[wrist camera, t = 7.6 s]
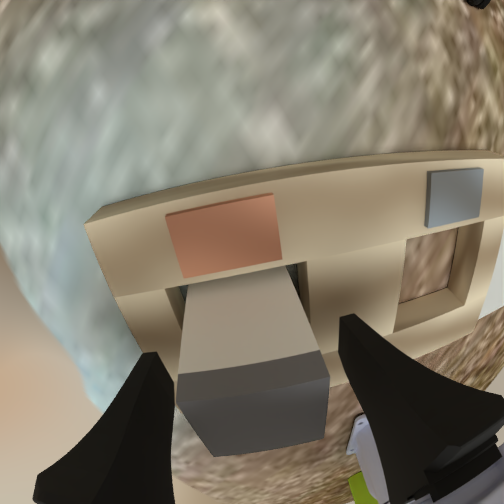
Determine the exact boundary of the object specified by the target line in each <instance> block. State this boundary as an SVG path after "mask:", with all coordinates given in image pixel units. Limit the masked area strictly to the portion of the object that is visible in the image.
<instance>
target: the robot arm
mask: <svg viewBox="0 0 504 504" xmlns="http://www.w3.org/2000/svg"><path fill="white" fill-rule="evenodd" d="M338 354H339V357H340V360H341V363H342V366H343V368H344V371H345V374H346V376H347V378H348V380H349V382H350V384H351V386H352V388H353V390H354V392H355V394H356V397H357V399H358V401H359V403H360V405H361V407H362V409H363V411H364V413H365V414H363V415H360V416H358V417H357V418H356V419H355V422H354V426H353V429H352V433H351V437H350V440H349V443H348V447H347V450H346V454H347V455H350V454H353V453H356V456H357V459H358V462H359V465H360V468H361V470H362V473H363V476H364V479H365V482H366V485H367V488H368V490H369V492H370V494H371V495H372V496H373V497H374V498H375V499H377V500H378V503H379V504H504V443H503V444H502V445H501V446H499V447H497V446H496V444H495V443H496V442H497V441H498V438H497V436H496V435H495V434H496V433H497V432H498V431H499V429H500V428H501V427H502V426H503V425H504V398H503V397H502V396H501V395H498V394H494V393H489V392H485V391H481V390H478V389H475V388H472V387H469V386H466V385H463V384H461V383H458V382H456V381H453V380H451V379H449V378H447V377H444V376H442V375H440V374H438V373H436V372H434V371H432V370H430V369H429V368H427V367H425V366H423V365H422V364H420V363H418V362H417V361H415V360H414V359H412V358H411V357H409V356H408V355H406V354H405V353H403V352H402V351H400V350H399V349H398V348H396V347H395V346H394V345H392V344H391V343H390V342H389V341H387V340H386V339H385V338H383V337H382V336H381V335H380V334H378V333H377V332H376V331H375V330H374V329H372V328H371V327H370V326H369V325H368V324H366V323H365V322H364V321H363V320H362V319H361V318H359V317H358V316H357V315H356V314H354V313H352V314H349V315H345V316H341V317H339V340H338ZM174 408H175V392H174V381H173V380H172V378H171V376H170V374H169V373H168V371H167V369H166V367H165V366H164V364H163V362H162V360H161V358H160V357H159V355H158V353H157V351H156V352H147V353H143V354H142V355H141V357H140V358H139V360H138V362H137V363H136V365H135V366H134V368H133V370H132V371H131V373H130V375H129V376H128V378H127V379H126V381H125V383H124V384H123V386H122V387H121V389H120V391H119V392H118V394H117V395H116V397H115V398H114V400H113V401H112V403H111V404H110V406H109V407H108V408H107V410H106V411H105V413H104V414H103V415H102V417H101V418H100V419H99V420H98V422H97V423H96V424H95V425H94V426H93V428H92V429H91V430H90V431H89V432H88V433H87V434H86V436H84V437H83V438H82V440H81V441H80V442H79V443H78V444H77V445H76V446H75V447H74V448H72V449H71V450H70V451H69V452H68V453H67V454H66V455H65V456H63V457H62V458H61V459H60V460H58V461H57V462H56V463H54V464H53V465H52V466H50V467H49V468H47V469H46V470H44V471H43V472H41V473H40V474H38V475H37V480H36V484H35V489H34V494H33V501H34V502H35V503H37V504H175V500H174V493H173V484H172V472H171V442H172V431H173V420H174Z"/></svg>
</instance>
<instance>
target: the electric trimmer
mask: <svg viewBox="0 0 504 504" xmlns="http://www.w3.org/2000/svg"><path fill="white" fill-rule="evenodd" d="M467 2H468V3H469V4H470V5H471V6H475V5H476V6H477V7H478V8H480V9H484V8H485V7H486V6H487V5H488V4H489V2H490V0H467Z"/></svg>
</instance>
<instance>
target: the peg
mask: <svg viewBox="0 0 504 504" xmlns="http://www.w3.org/2000/svg"><path fill="white" fill-rule="evenodd" d="M329 387H330V374H329V372H328V369H327V367H326V364H325V362H324V359H323V357H322V354H321V351H320V349H319V346H318V344H317V341H316V339H315V336H314V334H313V331H312V329H311V326H310V324H309V322H308V319H307V317H306V314H305V312H304V309H303V307H302V304H301V302H300V300H299V297H298V295H297V292H296V290H295V287H294V285H293V283H292V280H291V278H290V275H289V273H288V271H287V268H286V266H280V267H275V268H270V269H265V270H260V271H255V272H250V273H245V274H240V275H235V276H229V277H224V278H219V279H214V280H209V281H203V282H198V283H193V284H188V290H187V298H186V305H185V313H184V321H183V330H182V339H181V348H180V358H179V369H178V380H177V392H176V404H177V405H178V407H179V408H180V410H181V411H182V413H183V414H184V416H185V417H186V419H187V420H188V422H189V423H190V425H191V426H192V428H193V429H194V431H195V432H196V433H197V435H198V436H199V438H200V439H201V440H202V442H203V443H204V445H205V446H206V447H207V449H208V450H209V451H210V453H211V454H212V455H213V457H219V456H229V455H238V454H246V453H254V452H260V451H267V450H273V449H278V448H283V447H289V446H293V445H298V444H303V443H307V442H311V441H315V440H319V439H323V438H324V433H325V425H326V416H327V407H328V397H329Z"/></svg>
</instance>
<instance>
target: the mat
mask: <svg viewBox="0 0 504 504" xmlns="http://www.w3.org/2000/svg"><path fill="white" fill-rule="evenodd" d="M502 306H504V229H503V234H502V239H501V244H500V248H499V252H498V257H497V261H496V264H495V268H494V272H493V275H492V279H491V282H490V286H489V289H488V292H487V295H486V298H485V301H484V304H483V307H482V310H481V312H480V315H479V318H478V319H480V318H482V317H484V316H486V315H488V314H489V313H491V312H493V311H495V310H497V309H499V308H500V307H502Z"/></svg>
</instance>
